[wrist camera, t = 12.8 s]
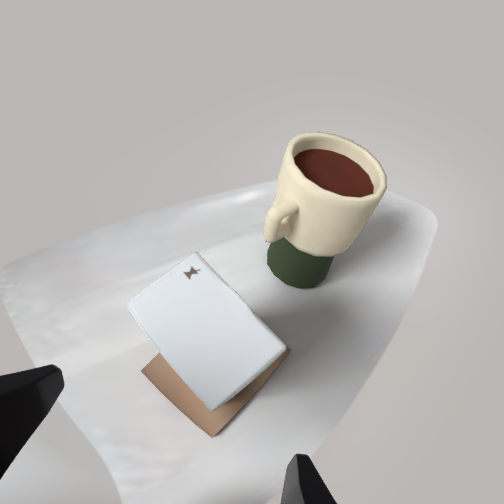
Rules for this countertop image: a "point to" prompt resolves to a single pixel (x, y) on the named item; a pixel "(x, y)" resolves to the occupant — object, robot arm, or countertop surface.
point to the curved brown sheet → (191, 404)
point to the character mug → (320, 205)
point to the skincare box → (205, 331)
